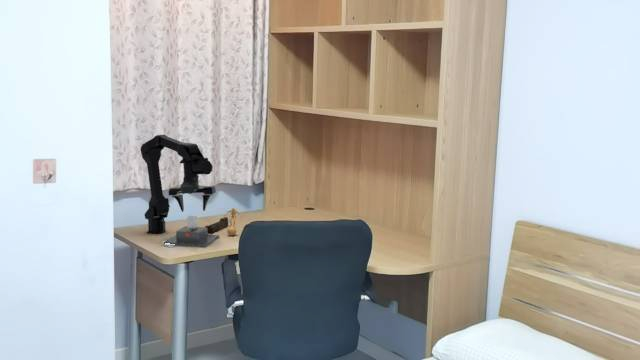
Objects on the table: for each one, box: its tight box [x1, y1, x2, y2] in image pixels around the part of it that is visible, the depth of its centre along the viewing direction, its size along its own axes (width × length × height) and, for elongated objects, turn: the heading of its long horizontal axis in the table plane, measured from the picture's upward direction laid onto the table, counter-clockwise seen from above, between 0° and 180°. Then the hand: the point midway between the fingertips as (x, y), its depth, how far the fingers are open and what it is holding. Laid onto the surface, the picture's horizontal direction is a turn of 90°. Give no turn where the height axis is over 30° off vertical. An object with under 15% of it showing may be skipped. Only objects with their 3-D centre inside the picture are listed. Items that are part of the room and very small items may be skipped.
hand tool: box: [204, 216, 229, 235], centre depth 320 cm, size 19×4×5 cm, turn 158°
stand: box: [163, 225, 220, 248], centre depth 297 cm, size 18×18×6 cm
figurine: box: [223, 207, 243, 237], centre depth 309 cm, size 8×6×12 cm
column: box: [186, 215, 198, 231], centre depth 297 cm, size 3×3×9 cm
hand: (193, 211), depth 296 cm, fingers open, 9 cm apart
